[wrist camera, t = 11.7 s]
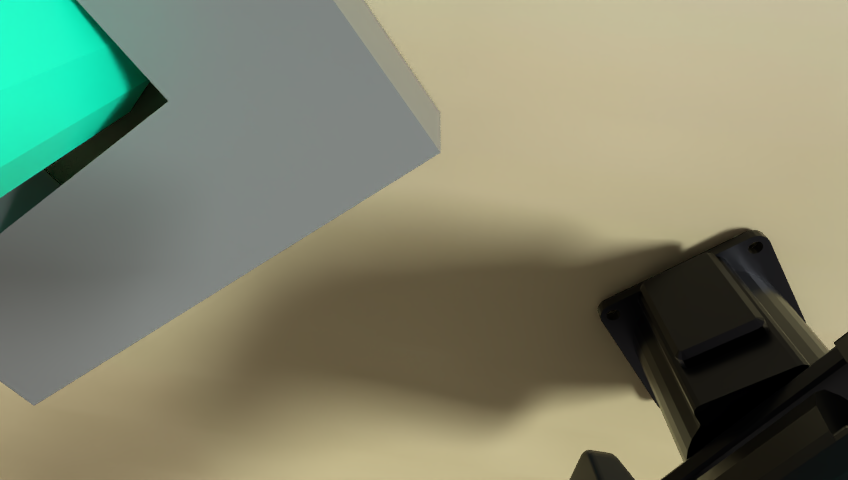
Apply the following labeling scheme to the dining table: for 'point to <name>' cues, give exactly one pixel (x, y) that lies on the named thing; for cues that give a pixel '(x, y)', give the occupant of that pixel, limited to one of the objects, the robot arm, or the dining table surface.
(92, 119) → the candle
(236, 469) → the dining table surface
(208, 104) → the socket block
